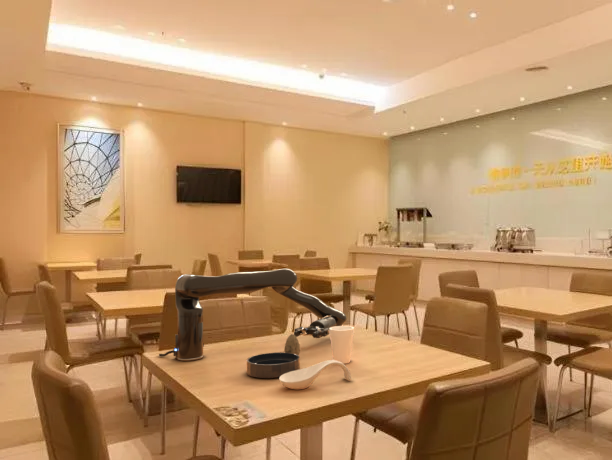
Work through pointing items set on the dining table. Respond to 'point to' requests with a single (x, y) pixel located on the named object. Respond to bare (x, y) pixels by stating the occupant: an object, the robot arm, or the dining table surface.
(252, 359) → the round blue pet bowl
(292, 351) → the decorative egg
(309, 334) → the robot arm
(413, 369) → the dining table surface
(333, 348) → the foam cup
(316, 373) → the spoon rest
